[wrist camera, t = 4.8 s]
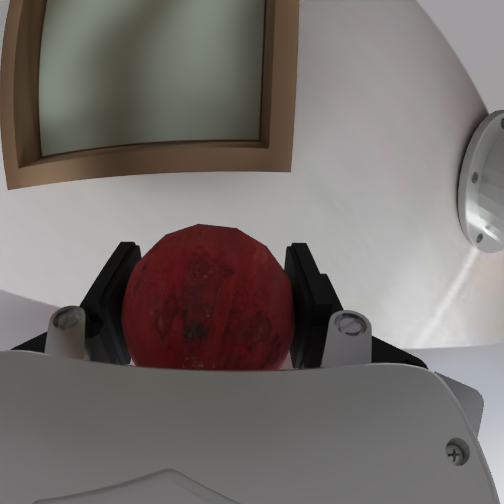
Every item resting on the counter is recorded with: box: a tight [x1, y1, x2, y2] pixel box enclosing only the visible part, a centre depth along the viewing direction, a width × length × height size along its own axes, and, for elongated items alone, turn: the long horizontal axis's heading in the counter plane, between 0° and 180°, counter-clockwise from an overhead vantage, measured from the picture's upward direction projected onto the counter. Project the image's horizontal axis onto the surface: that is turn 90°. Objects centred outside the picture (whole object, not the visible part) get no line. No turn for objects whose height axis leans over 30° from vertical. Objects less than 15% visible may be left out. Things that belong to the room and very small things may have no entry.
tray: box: [0, 0, 299, 190], centre depth 10 cm, size 14×14×4 cm
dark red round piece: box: [121, 224, 296, 370], centre depth 10 cm, size 6×6×8 cm
